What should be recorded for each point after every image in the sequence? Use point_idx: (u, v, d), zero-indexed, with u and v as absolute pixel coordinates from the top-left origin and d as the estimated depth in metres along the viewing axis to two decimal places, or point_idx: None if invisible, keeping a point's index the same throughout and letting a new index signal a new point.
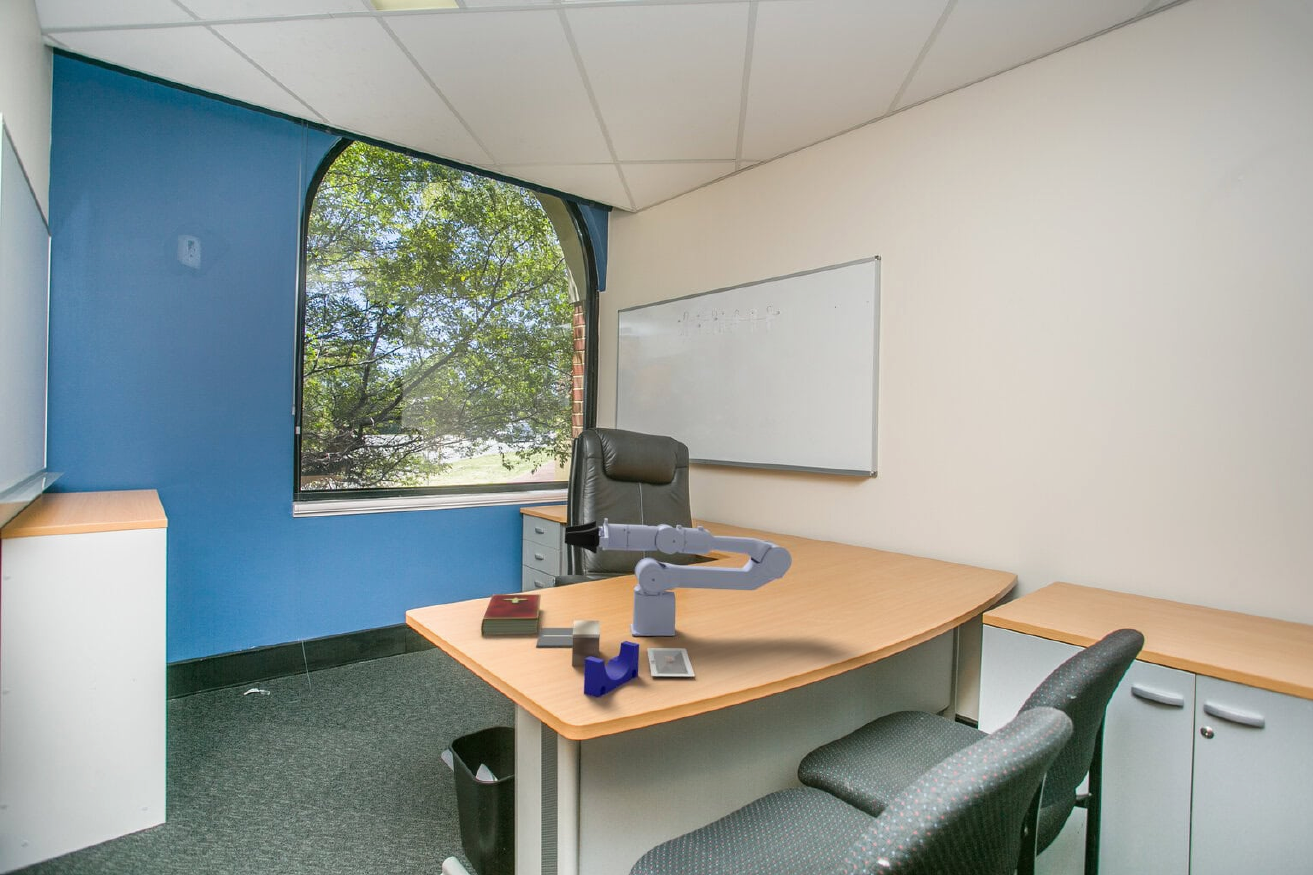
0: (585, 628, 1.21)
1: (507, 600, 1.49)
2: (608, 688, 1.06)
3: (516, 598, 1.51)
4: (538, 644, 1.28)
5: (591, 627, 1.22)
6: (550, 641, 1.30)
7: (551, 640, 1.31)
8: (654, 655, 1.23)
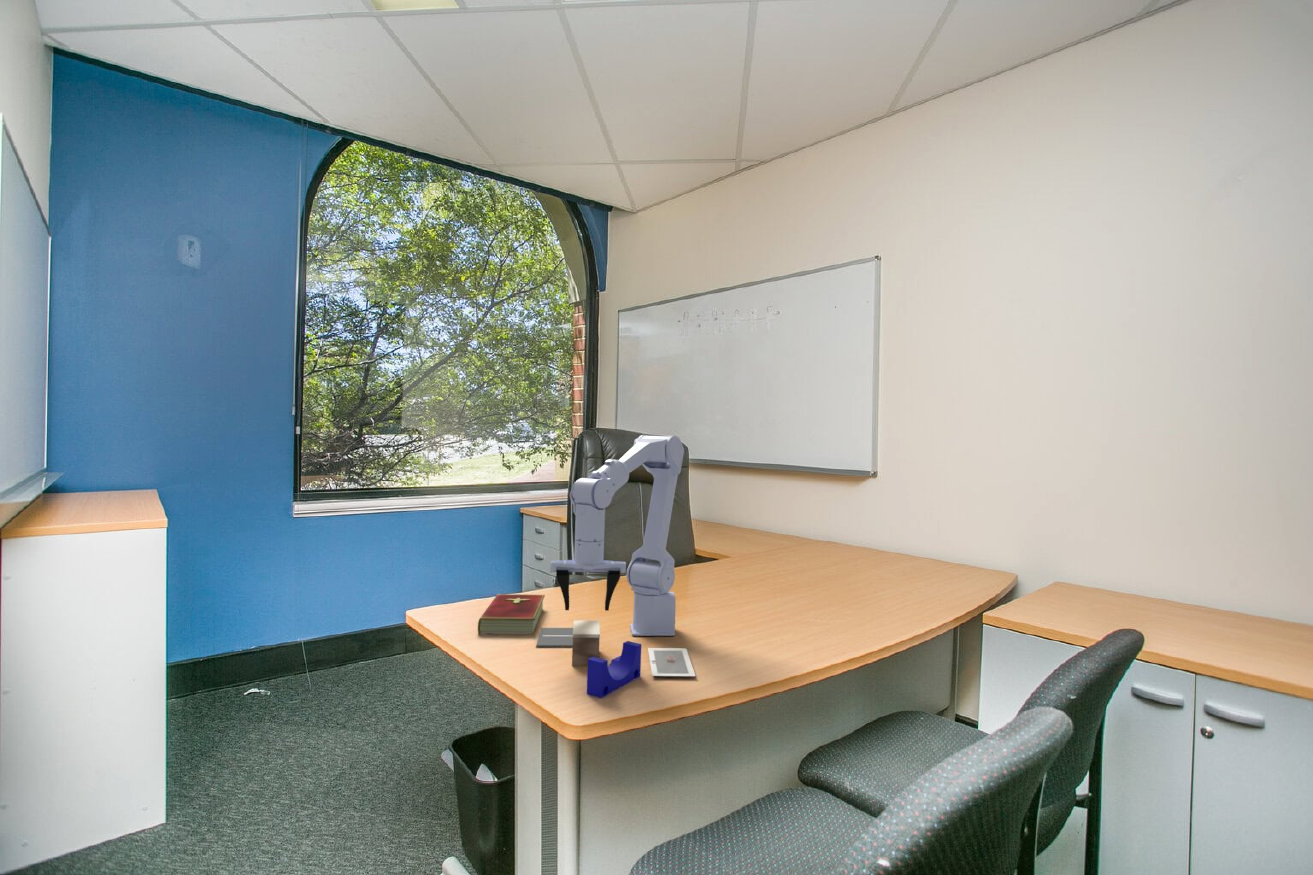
0: (585, 628, 1.21)
1: (509, 600, 1.49)
2: (611, 688, 1.06)
3: (518, 598, 1.51)
4: (538, 644, 1.28)
5: (591, 627, 1.22)
6: (550, 641, 1.30)
7: (551, 640, 1.31)
8: (655, 655, 1.23)
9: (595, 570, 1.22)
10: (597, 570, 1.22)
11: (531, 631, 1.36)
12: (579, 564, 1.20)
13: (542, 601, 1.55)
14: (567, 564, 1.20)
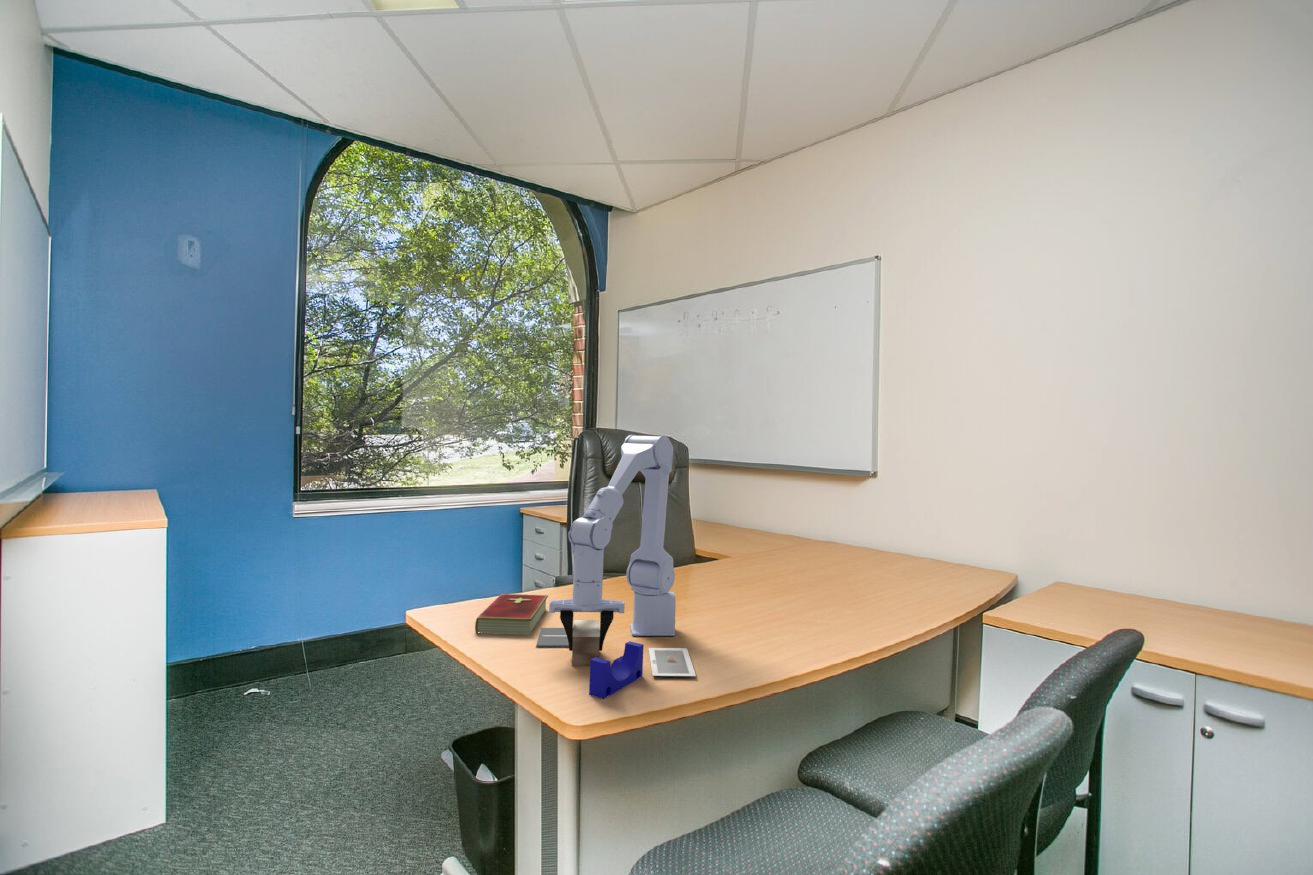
0: (585, 628, 1.21)
1: (511, 600, 1.50)
2: (613, 689, 1.05)
3: (520, 598, 1.51)
4: (538, 644, 1.28)
5: (591, 626, 1.22)
6: (550, 641, 1.30)
7: (551, 640, 1.31)
8: (655, 654, 1.23)
9: (594, 610, 1.22)
10: (596, 610, 1.22)
11: (528, 631, 1.35)
12: (578, 605, 1.20)
13: (545, 601, 1.55)
14: (566, 605, 1.20)
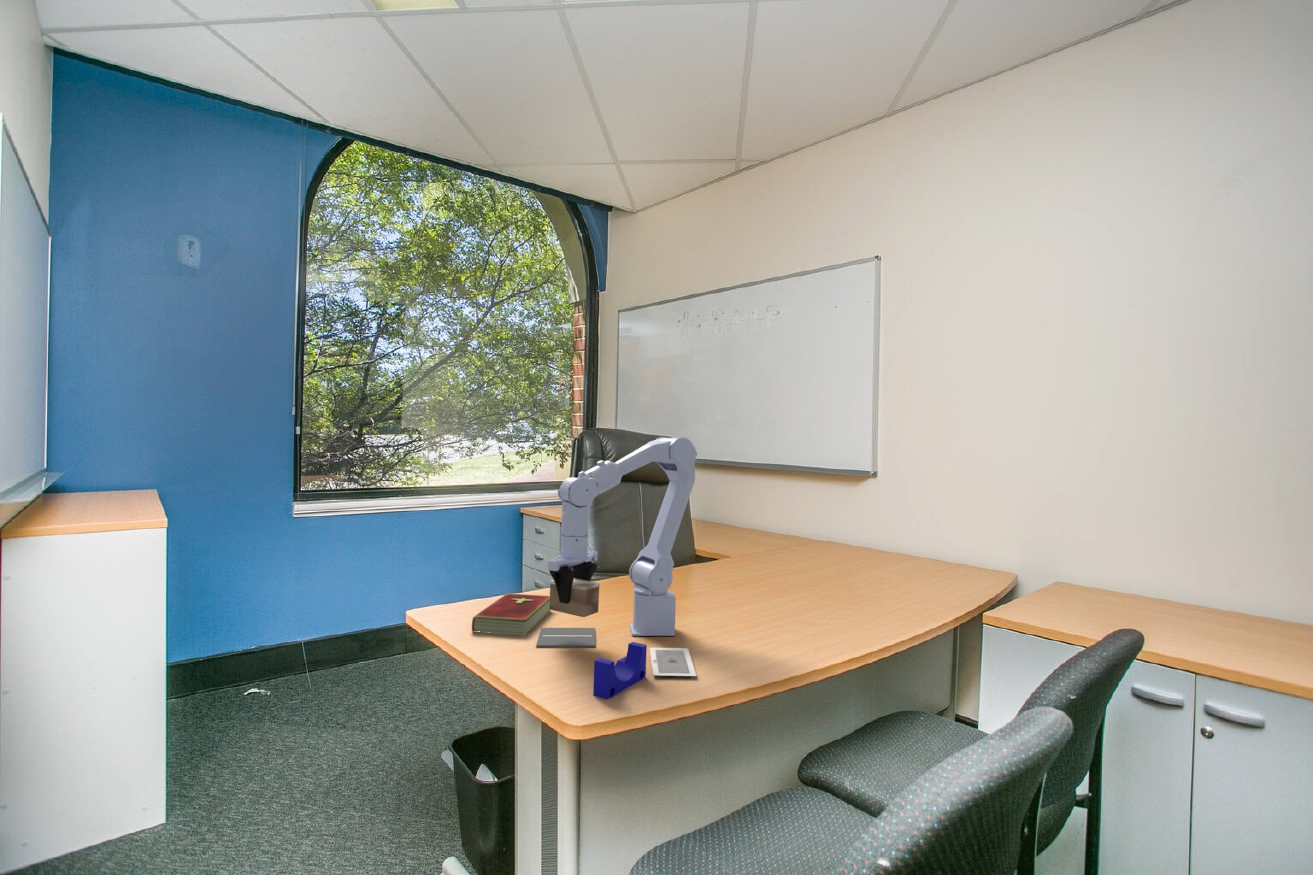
0: (578, 582, 1.30)
1: (513, 600, 1.50)
2: (617, 690, 1.05)
3: (523, 598, 1.51)
4: (538, 644, 1.28)
5: (578, 581, 1.32)
6: (550, 641, 1.30)
7: (551, 640, 1.31)
8: (656, 654, 1.23)
9: (578, 562, 1.32)
10: (579, 562, 1.33)
11: (523, 632, 1.35)
12: (578, 558, 1.28)
13: (549, 602, 1.54)
14: (568, 560, 1.27)
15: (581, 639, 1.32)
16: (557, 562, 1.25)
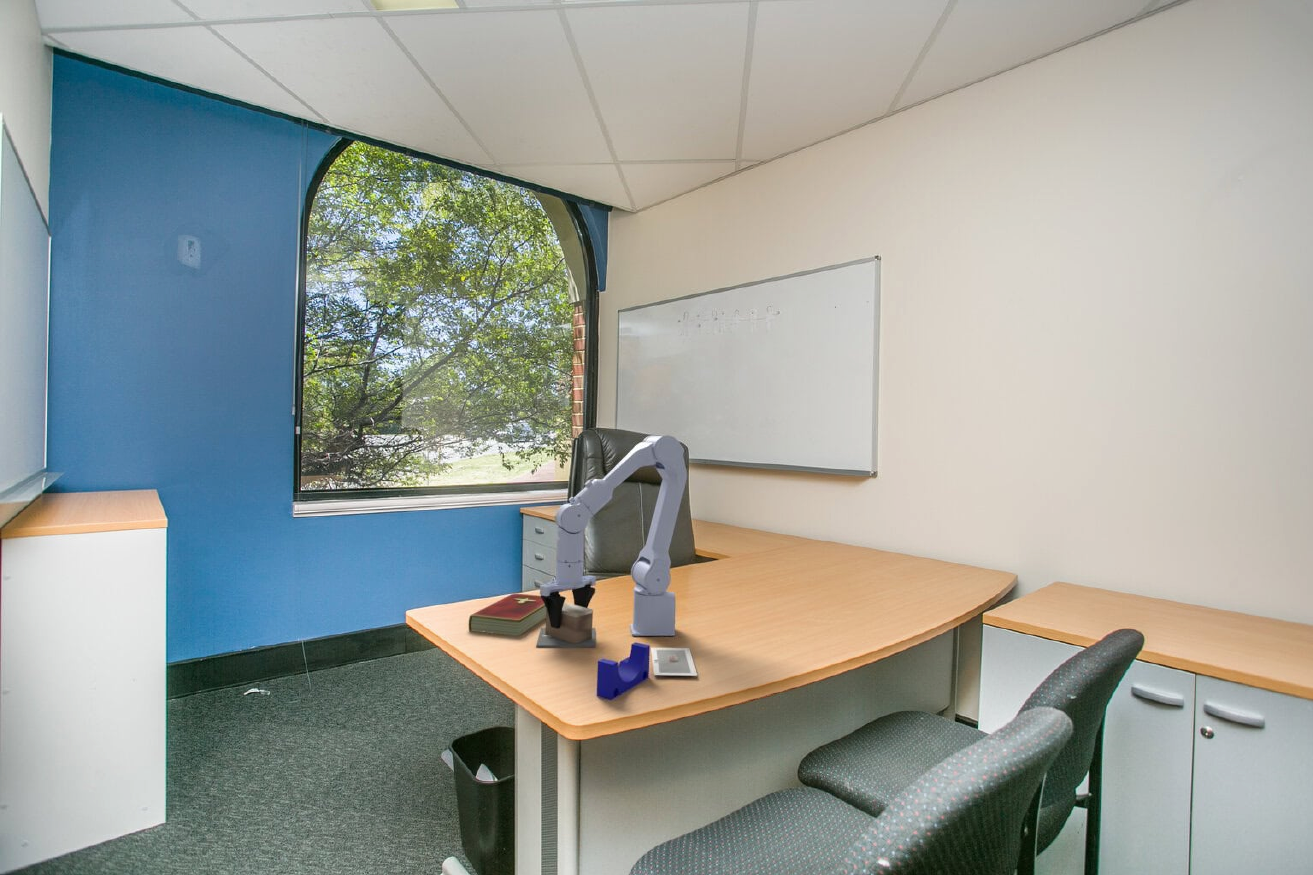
0: (572, 609, 1.33)
1: (517, 600, 1.50)
2: (621, 690, 1.05)
3: (527, 599, 1.51)
4: (538, 644, 1.28)
5: (573, 607, 1.34)
6: (550, 641, 1.30)
7: (551, 640, 1.31)
8: (657, 654, 1.24)
9: None
10: (575, 587, 1.35)
11: (517, 633, 1.34)
12: (571, 584, 1.31)
13: None
14: (560, 586, 1.30)
15: None
16: (548, 587, 1.28)
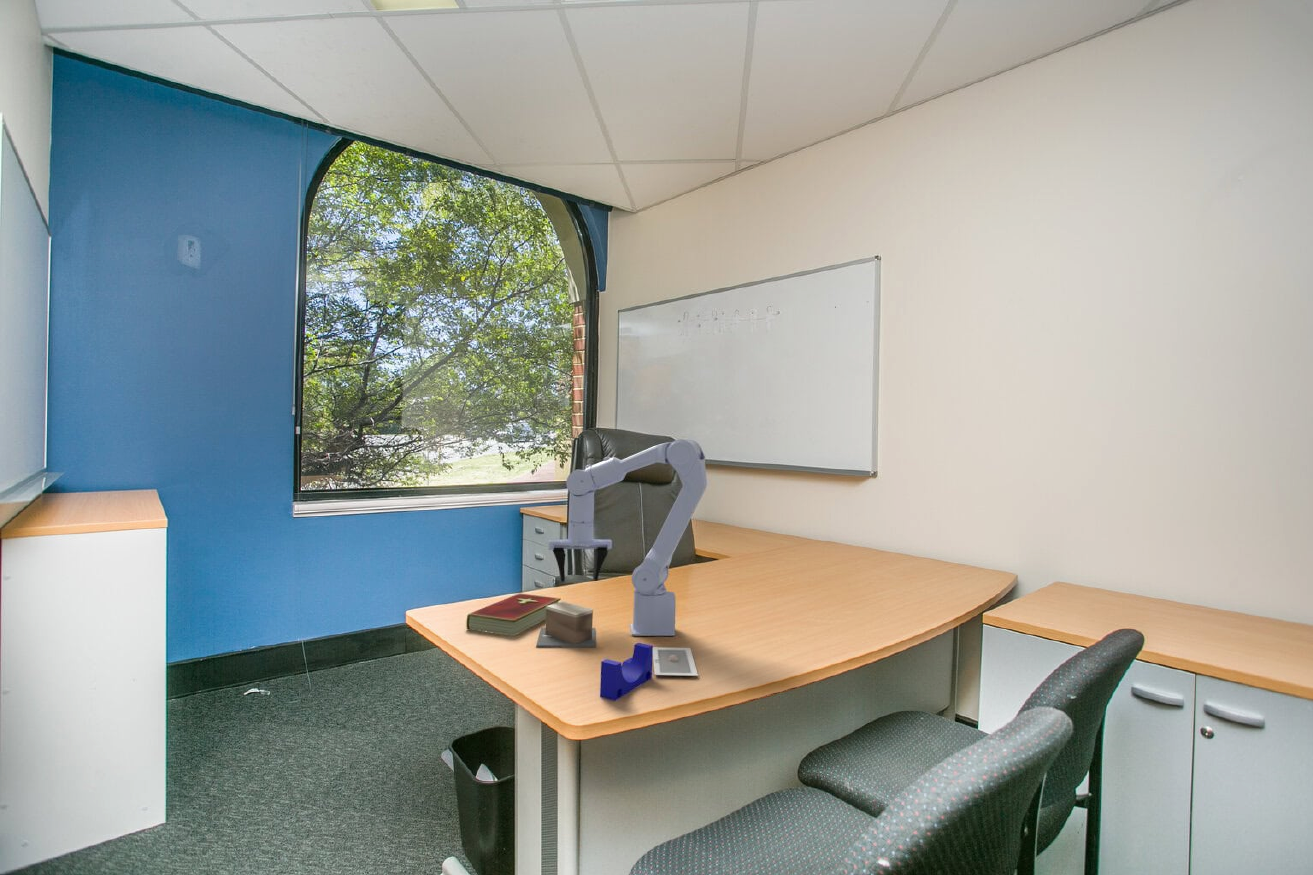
0: (572, 609, 1.33)
1: (519, 600, 1.50)
2: (624, 691, 1.05)
3: (529, 599, 1.50)
4: (538, 644, 1.28)
5: (573, 607, 1.34)
6: (550, 641, 1.30)
7: (551, 640, 1.31)
8: (658, 654, 1.24)
9: (586, 547, 1.45)
10: (587, 547, 1.45)
11: (512, 633, 1.34)
12: (574, 542, 1.42)
13: None
14: (563, 542, 1.42)
15: None
16: (551, 542, 1.42)
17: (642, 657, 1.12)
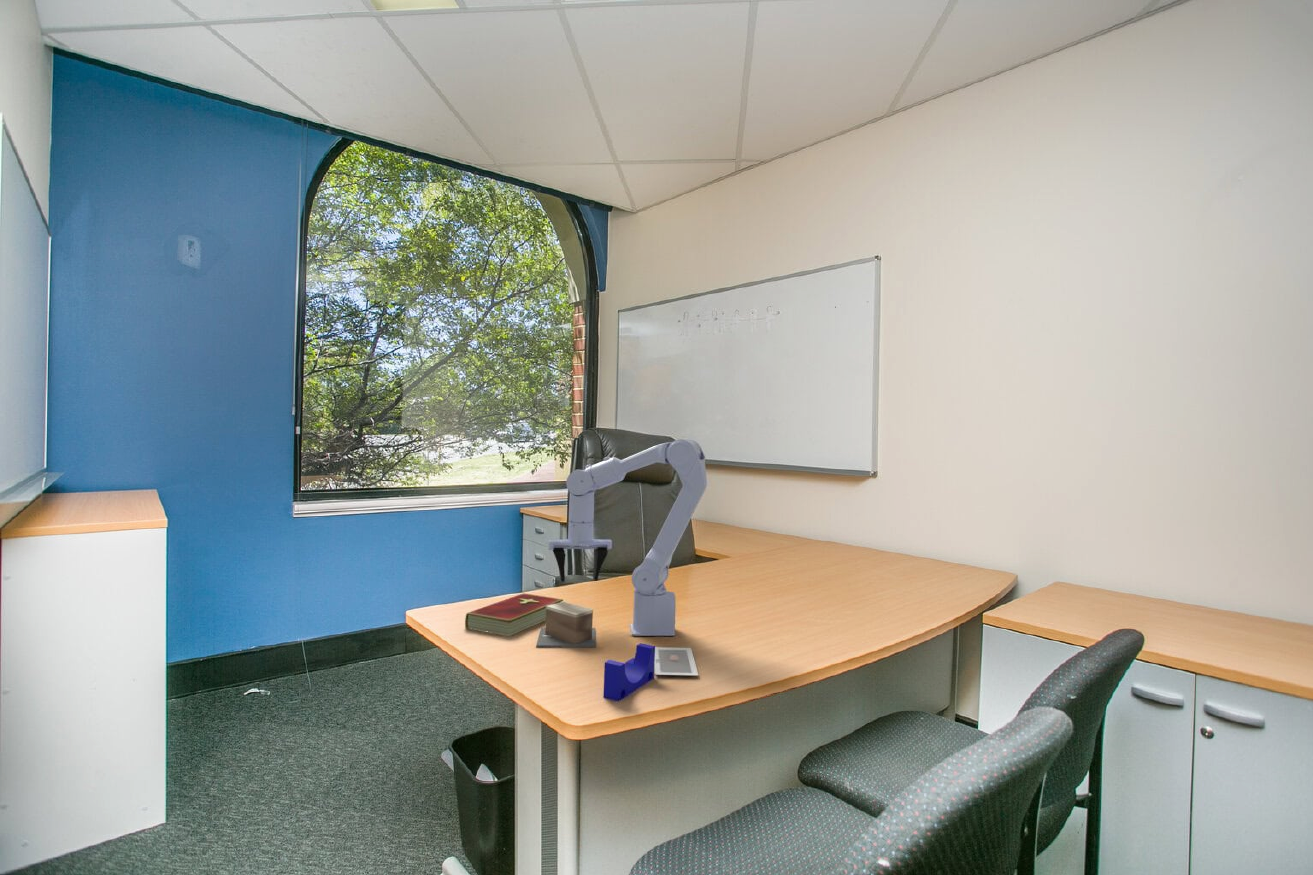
0: (572, 609, 1.33)
1: (521, 600, 1.50)
2: (627, 691, 1.05)
3: (531, 599, 1.50)
4: (538, 644, 1.28)
5: (573, 607, 1.34)
6: (550, 641, 1.30)
7: (551, 640, 1.31)
8: (659, 654, 1.24)
9: (586, 547, 1.45)
10: (587, 547, 1.45)
11: (508, 633, 1.34)
12: (574, 542, 1.42)
13: None
14: (563, 542, 1.42)
15: None
16: (551, 542, 1.42)
17: (644, 658, 1.12)
